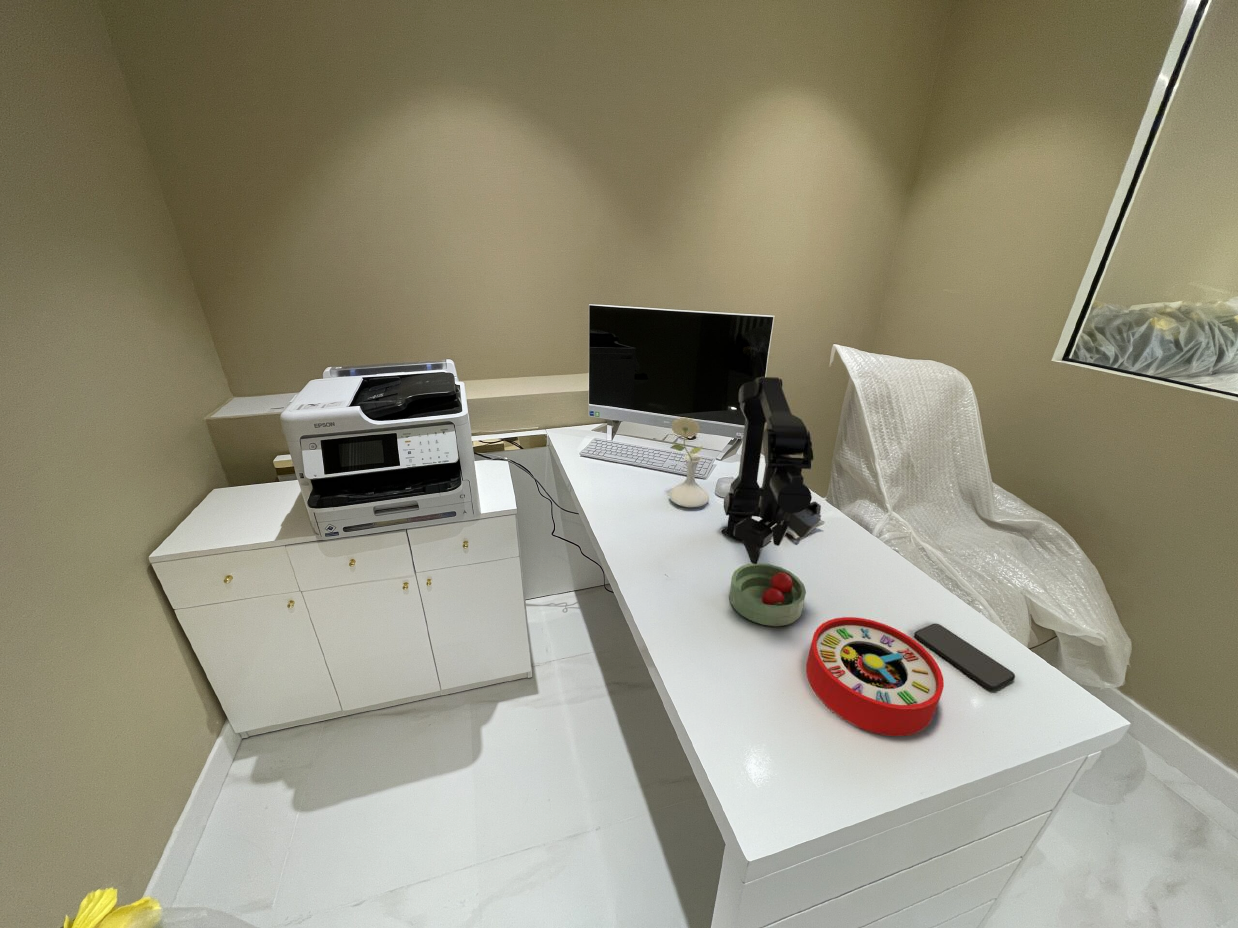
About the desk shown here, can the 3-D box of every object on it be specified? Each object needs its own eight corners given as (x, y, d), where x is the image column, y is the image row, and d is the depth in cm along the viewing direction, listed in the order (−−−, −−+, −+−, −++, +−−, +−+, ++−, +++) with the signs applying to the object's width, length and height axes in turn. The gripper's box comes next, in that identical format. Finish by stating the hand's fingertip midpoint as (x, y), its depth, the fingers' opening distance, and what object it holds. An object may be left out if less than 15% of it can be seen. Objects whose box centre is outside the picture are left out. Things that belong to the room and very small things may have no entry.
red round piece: (773, 580, 103) (784, 595, 98) (781, 593, 105) (792, 609, 100) (755, 590, 103) (765, 606, 99) (762, 603, 105) (772, 619, 101)
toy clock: (788, 627, 90) (879, 608, 95) (783, 652, 92) (872, 632, 98) (868, 722, 73) (974, 692, 78) (859, 749, 75) (963, 719, 80)
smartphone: (936, 621, 100) (1018, 674, 87) (935, 625, 100) (1016, 678, 88) (911, 632, 97) (993, 689, 84) (910, 636, 97) (991, 693, 85)
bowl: (752, 573, 114) (755, 555, 112) (813, 604, 105) (818, 584, 103) (715, 602, 105) (718, 583, 103) (779, 639, 95) (783, 618, 93)
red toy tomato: (763, 587, 105) (773, 580, 108) (781, 601, 102) (790, 594, 106) (773, 571, 103) (782, 565, 106) (791, 585, 101) (800, 578, 104)
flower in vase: (714, 499, 146) (724, 418, 136) (698, 515, 138) (707, 429, 127) (674, 487, 153) (680, 409, 142) (656, 502, 144) (661, 419, 134)
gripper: (794, 519, 85) (779, 593, 91) (839, 484, 97) (823, 551, 103) (737, 496, 91) (727, 566, 98) (786, 466, 104) (774, 530, 110)
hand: (765, 553), depth 102 cm, fingers open, 9 cm apart
